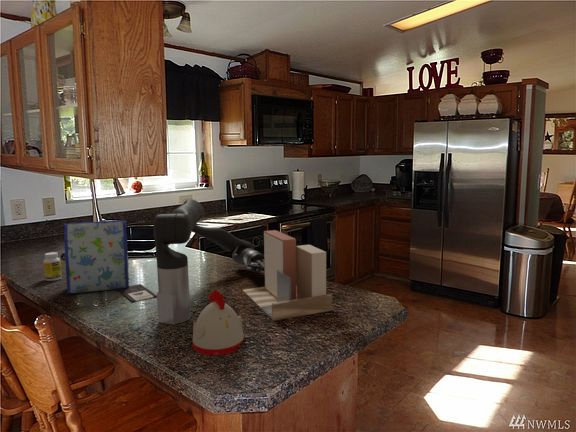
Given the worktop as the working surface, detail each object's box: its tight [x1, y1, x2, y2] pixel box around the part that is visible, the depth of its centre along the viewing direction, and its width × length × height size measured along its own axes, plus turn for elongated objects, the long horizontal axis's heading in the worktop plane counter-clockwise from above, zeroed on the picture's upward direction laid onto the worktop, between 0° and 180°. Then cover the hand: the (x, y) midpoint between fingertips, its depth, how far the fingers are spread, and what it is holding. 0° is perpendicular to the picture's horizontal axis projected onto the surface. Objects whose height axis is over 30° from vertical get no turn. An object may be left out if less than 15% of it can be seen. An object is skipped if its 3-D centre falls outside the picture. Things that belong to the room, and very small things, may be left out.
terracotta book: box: [263, 229, 297, 300], centre depth 150 cm, size 18×5×22 cm, turn 24°
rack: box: [242, 285, 333, 321], centre depth 148 cm, size 32×20×6 cm, turn 23°
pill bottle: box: [43, 251, 63, 282], centre depth 178 cm, size 6×6×11 cm
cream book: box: [296, 244, 327, 299], centre depth 141 cm, size 12×5×19 cm, turn 23°
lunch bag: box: [63, 219, 130, 294], centre depth 166 cm, size 22×17×26 cm
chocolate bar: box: [116, 283, 157, 303], centre depth 159 cm, size 9×1×18 cm
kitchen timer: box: [192, 289, 245, 356], centre depth 116 cm, size 14×14×15 cm
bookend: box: [261, 270, 291, 319], centre depth 136 cm, size 10×6×12 cm, turn 23°
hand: (270, 271), depth 159 cm, fingers closed
